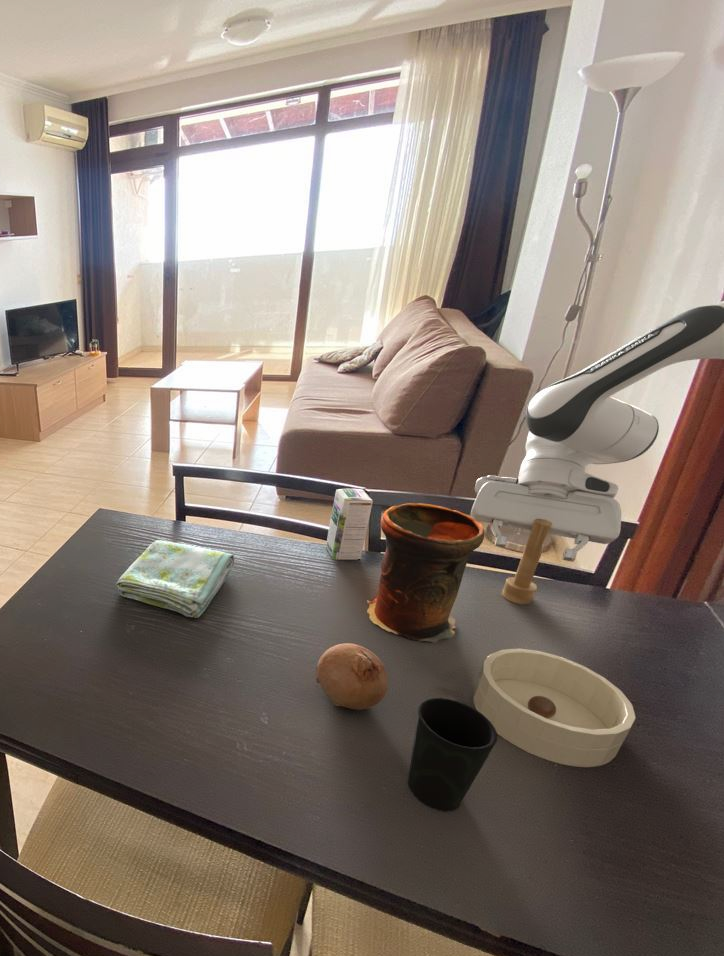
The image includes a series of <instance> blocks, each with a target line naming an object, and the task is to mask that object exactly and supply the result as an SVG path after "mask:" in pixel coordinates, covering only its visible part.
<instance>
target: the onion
mask: <svg viewBox="0 0 724 956" xmlns="http://www.w3.org/2000/svg"><path fill="white" fill-rule="evenodd" d="M316 672H317V673H316V675H317V677H316V679H315V680H316V682H317V684H319V685H320V687H321V689H322V690H323V692H324V693H325V695H326V696H327V697H328V698H329V699H330V700H331V703H332V704H333V705H334V706H337V707H342V708H343V707H344V708H347V709H350V710H356V711H357V710H358V711H361V710H367V709H370V708H372V707H374V706H376V705H378V704H379V703H381V702H382V701H383V699H385V696H387V693H388V690H389V677H388V673H387V670H386V667H385V665H384V663H383V661H382V660H381V659H380V658H379V657H378V656H377V655H376V654H375V653H374V652H372V651H371V650H369V649H368V648H366V647H364V646H362V645H359V644H355V643H349V642H347V643H345V642H344V643H338V644H336V645H335V644H334V645H333V646H330V648H328V649H326V650H325V651H324V653H322V655H321V656H320V658H319V660H318V662H317V666H316Z"/></svg>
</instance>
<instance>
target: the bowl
mask: <svg viewBox="0 0 724 956" xmlns="http://www.w3.org/2000/svg"><path fill="white" fill-rule="evenodd" d="M534 696H543V697H546V698H548V699H550V700H551V701H552V702H553V703H554V704H555V706H556V713H555V715H554V716H553V717H551V718H547V719H546V718H544V717H542V716H540V715H538V714H536V713H534V712H532V711H530V710H529V708H528V701H529V699H530V698H532V697H534ZM472 699H473V700H472V701H473V704H474V707H475V709H476V710H477V711H478V712H480V713H481V714H483V715H484V716H485V717H486V718H487V719H488V720H489V721H490V722H491V723H492V725H493V726H494V728H495V730H496V732H497V735H499V736H500V737H501V738H503V739H504V740H506V741H507V742H509V743H510V744H512V745H513V746H515V747H516V748H519V749H521V750H523V751H525V752H526V753H528V754H531V755H533V756H536V757H537V758H540V759H543V760H545V761H549V762H551V763H556V764H559V765H564V766H570V767H577V768H596V767H600V766H604V765H607V764H608V763H610V762H612V761H613V760H614V759H615V758H616V757H617V755H618V752H619V751H620V748H621V747H622V745H623V744H624V741H626V740H625V739H626V738H627V736H628V735H629V732H630V731H631V729H632V726H633V725H634V722H635V721H636V719H637V717H636V713H635V710H634V706H633V704H632V702H631V701H630V700H629V699H628V698H627V696H626V695H625V694H624V692H623V691H622V690H621V689H620V688H618V687H617V686H616V685H614V684H613V683H612V682H611V681H609V680H608V679H607V678H606V677H604V676H602V675H600V674H599V673H597V672H596V671H594V670H592V669H590V668H588V667H586V666H585V665H582V664H580V663H578V662H576V661H573V660H570V659H568V658H565V657H562V656H559V655H556V654H553V653H548V652H544V651H542V650H533V649H525V648H508V649H507V648H506V649H501V650H497V651H495V652H491V653H490V654H489V655H487V657H486V659H484V661H483V663H482V665H481V668H480V672H479V675H478V677H477V679H476V683H475V686H474V691H473V696H472Z"/></svg>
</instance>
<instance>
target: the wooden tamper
mask: <svg viewBox="0 0 724 956" xmlns="http://www.w3.org/2000/svg"><path fill="white" fill-rule="evenodd" d="M551 526H552V522H550V521H548V520H545V519H535V520H534V523H533V526H532V529H531V531H530V530H529V531H530V532H529V535H528V538H527V540H526V543H525V546H524V549H523V552H522V554H521V558H520V560H519V564H518V566H517V569H516V572H515V575H514V576H510V577H508V578H506V580H505V583H504V586H503V589H502V592H501V596H502V597H503V598H504V599H505V600H507V601H510V602H512V603H515V604H520V605H529V604H531V603H532V602H533V600H534V597H535V594H536V592H537V590H538V587H537V584H535V583H534V582H532V581H533V579H534V576H535V573H536V571H537V567H538V564H539V562H540V559H541V557H542V554H543V550H544V548H545V545H546V544H547V543H546V542H547V540H548V537H549V535H550V534H549V532H550V529H551Z"/></svg>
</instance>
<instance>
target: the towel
mask: <svg viewBox="0 0 724 956" xmlns="http://www.w3.org/2000/svg"><path fill="white" fill-rule="evenodd" d="M234 557H235V556H234V554H233V553H229V552H228V553H227V552H225V551H220V550H215V549H210V548H205V547H199V546H194V545H189V544H184V543H179V542H173V541H168V540H167V541H166V540H160V539H157V540H154V542H152V543H150V544H149V545H148V547H147V548H146V549H145V550H144V551H143V552H142V554H140V555H139V557H137V558H136V559H135V560H134V561H133V562H132V564H131V565H130V566H129V567H128V568H127V569H126V570H125V571H124V573H123V574H122V575H121V576H120V577H119V578H118V579H117V581H116V583H115V587H117V593H118V594H119V595H120V596H122V597H123V598H127V599H131V600H136V601H138V602H142V603H144V604H149V605H151V606H155V607H158V608H162V609H167V610H169V611H173V612H177V613H179V614H181V615H182V616H184V617H186V618H194V619H199V618H200V617H201V615H203V614H204V612H205V611H206V610H207V608H208V607H209V605H210V604H211V602H212V600H213V599H214V597H215V596H216V595H217V593H218V591H219V590H220V589H221V588H222V585H223V584H224V583H225V582H226V580H227V579H228V577H229V575H230V573H231V571H232V568H233V566H234V562H235V558H234Z"/></svg>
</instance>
